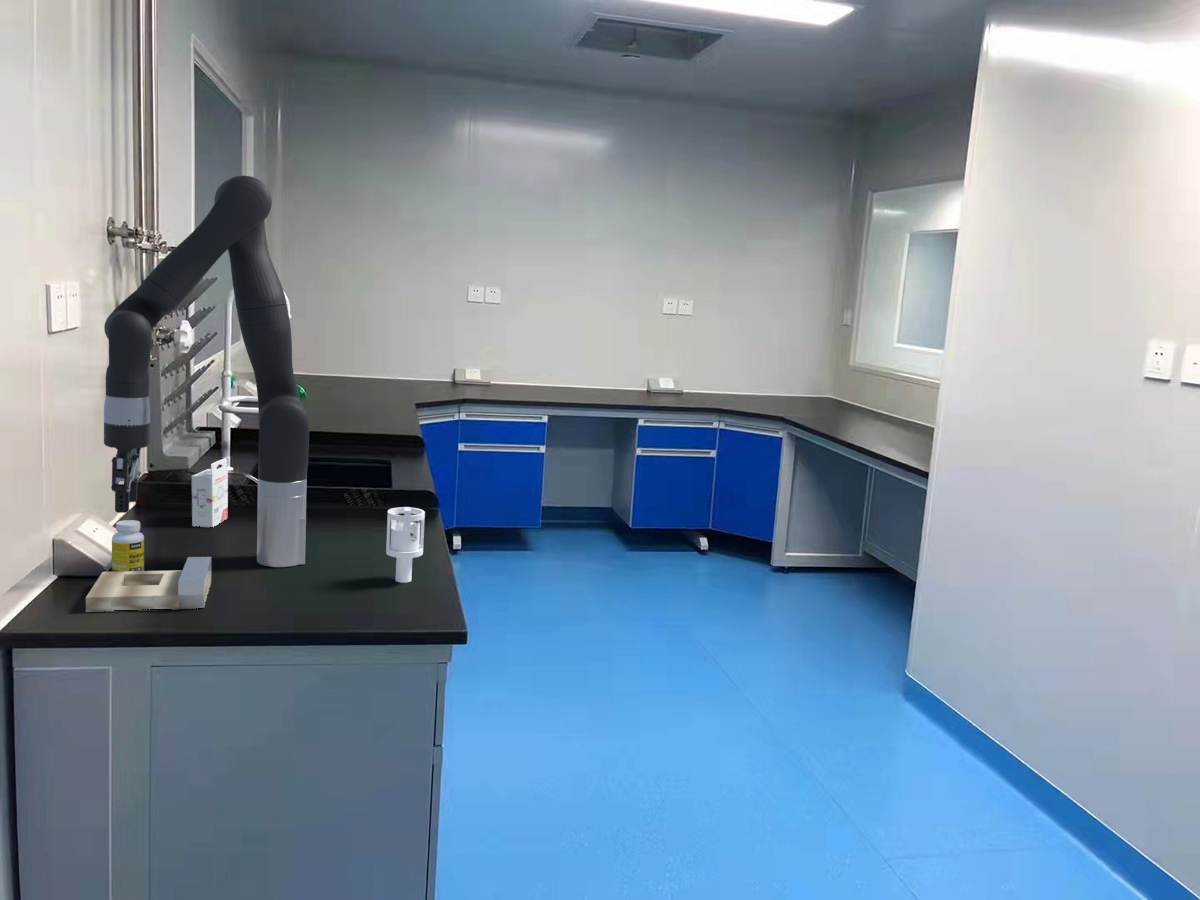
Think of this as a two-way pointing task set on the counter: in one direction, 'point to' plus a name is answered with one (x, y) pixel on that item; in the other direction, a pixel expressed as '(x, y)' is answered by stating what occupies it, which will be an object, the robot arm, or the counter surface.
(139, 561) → the supplement bottle
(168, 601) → the jig
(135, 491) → the robot arm
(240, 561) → the counter surface
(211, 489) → the ink cartridge box
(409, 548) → the strainer
